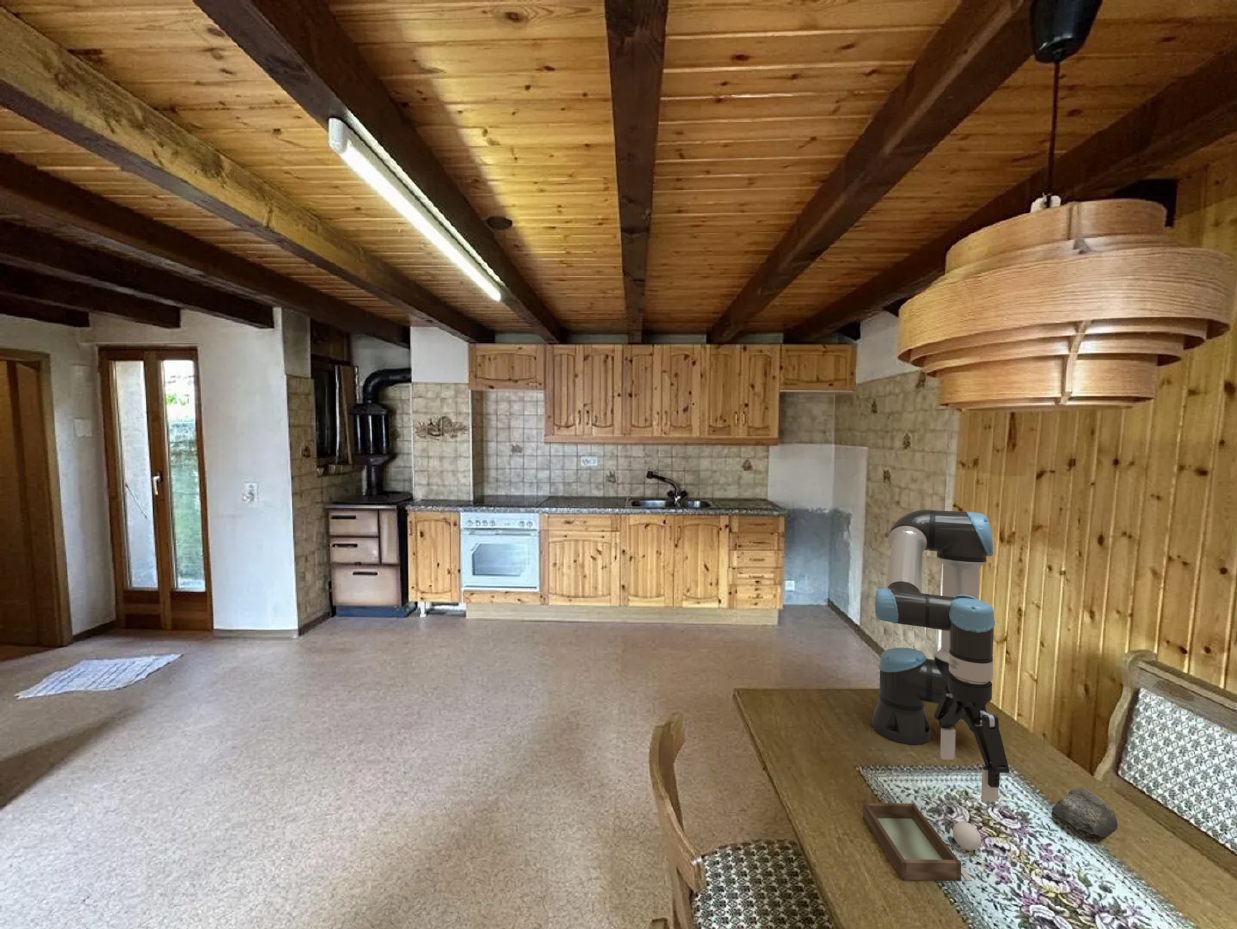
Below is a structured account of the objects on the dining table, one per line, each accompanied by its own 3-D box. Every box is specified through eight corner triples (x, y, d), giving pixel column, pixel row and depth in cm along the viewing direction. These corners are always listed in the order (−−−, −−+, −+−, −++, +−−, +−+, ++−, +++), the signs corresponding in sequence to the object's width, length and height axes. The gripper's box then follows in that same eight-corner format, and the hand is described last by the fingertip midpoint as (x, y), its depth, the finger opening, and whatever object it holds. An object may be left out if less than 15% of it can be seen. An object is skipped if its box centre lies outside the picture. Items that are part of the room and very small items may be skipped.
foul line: (923, 818, 118) (923, 817, 118) (971, 881, 102) (971, 880, 102) (918, 818, 118) (918, 817, 118) (966, 881, 102) (966, 879, 102)
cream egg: (971, 839, 112) (971, 816, 112) (986, 857, 107) (987, 833, 107) (947, 839, 112) (948, 816, 112) (961, 857, 108) (962, 833, 107)
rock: (1092, 847, 110) (1092, 816, 110) (1043, 821, 118) (1043, 792, 117) (1121, 826, 116) (1122, 797, 116) (1073, 803, 124) (1073, 776, 124)
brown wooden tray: (913, 818, 118) (913, 803, 118) (960, 881, 102) (961, 863, 102) (863, 818, 119) (863, 803, 118) (901, 880, 102) (902, 862, 102)
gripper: (918, 652, 121) (916, 743, 122) (993, 706, 96) (989, 820, 97) (951, 652, 121) (949, 744, 122) (1035, 707, 96) (1031, 821, 97)
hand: (967, 778), depth 109 cm, fingers open, 13 cm apart
